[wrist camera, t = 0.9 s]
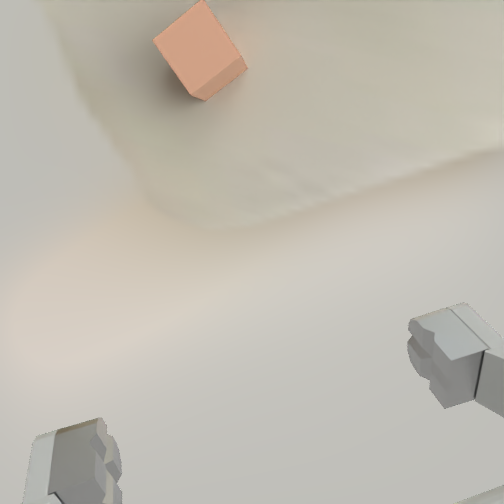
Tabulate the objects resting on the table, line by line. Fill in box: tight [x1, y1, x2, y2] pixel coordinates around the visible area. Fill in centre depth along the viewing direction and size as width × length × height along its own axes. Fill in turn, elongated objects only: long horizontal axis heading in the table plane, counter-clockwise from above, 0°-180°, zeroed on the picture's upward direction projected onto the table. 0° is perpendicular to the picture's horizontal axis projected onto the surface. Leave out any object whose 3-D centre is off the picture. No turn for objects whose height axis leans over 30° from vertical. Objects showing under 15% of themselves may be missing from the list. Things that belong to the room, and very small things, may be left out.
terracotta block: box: [152, 0, 248, 101], centre depth 39 cm, size 5×5×8 cm
